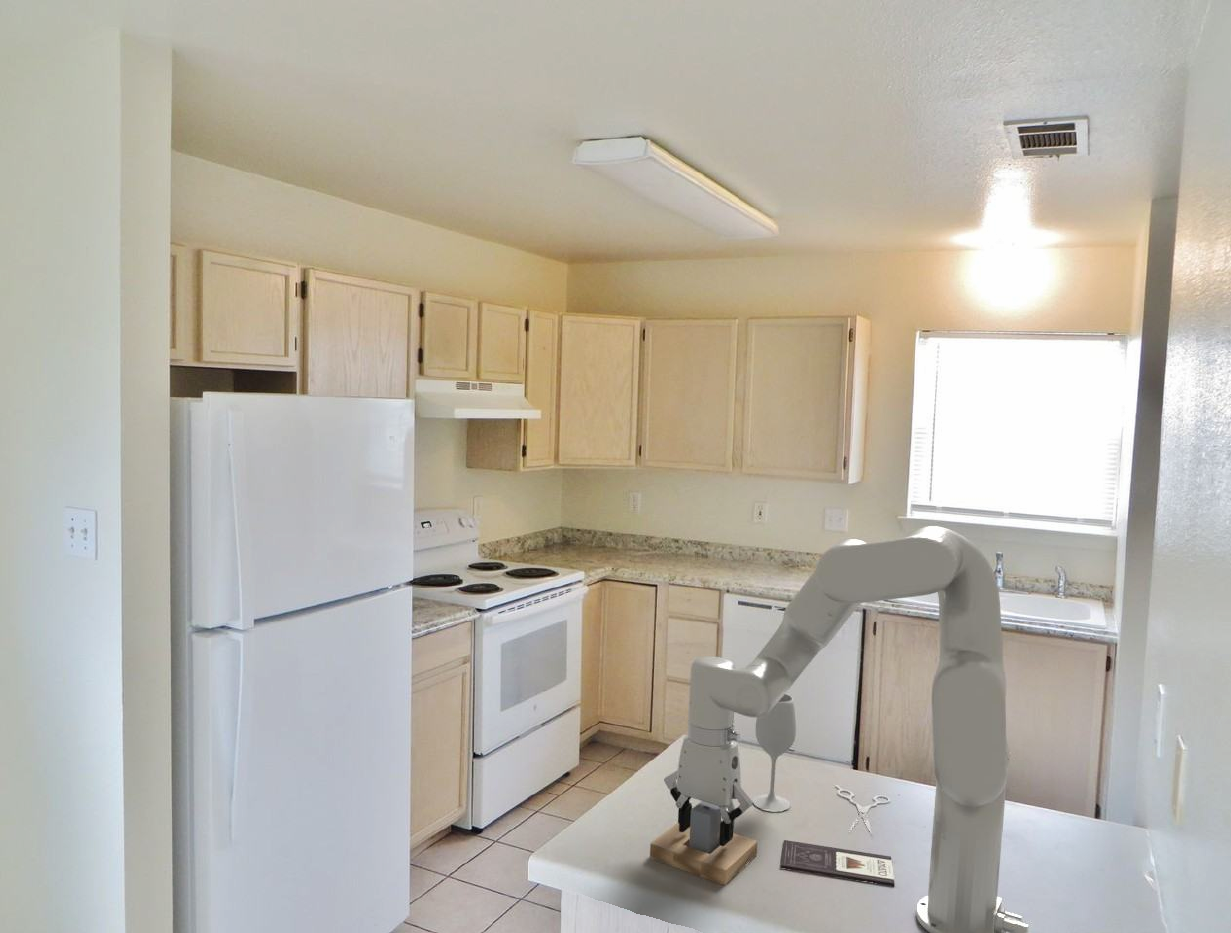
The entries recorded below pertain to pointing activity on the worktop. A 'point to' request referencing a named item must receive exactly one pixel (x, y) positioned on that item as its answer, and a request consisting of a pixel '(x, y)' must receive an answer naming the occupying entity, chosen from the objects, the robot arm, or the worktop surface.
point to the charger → (705, 827)
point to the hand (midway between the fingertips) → (704, 834)
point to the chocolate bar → (837, 862)
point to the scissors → (860, 808)
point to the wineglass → (776, 745)
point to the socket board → (703, 855)
